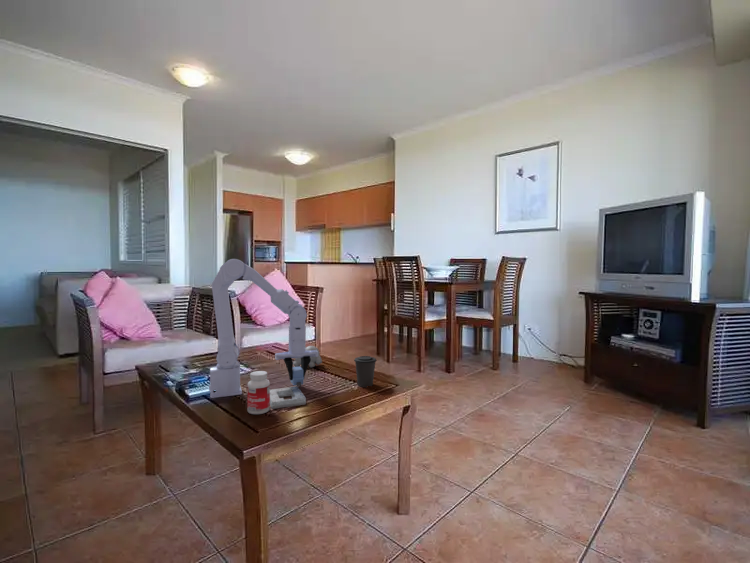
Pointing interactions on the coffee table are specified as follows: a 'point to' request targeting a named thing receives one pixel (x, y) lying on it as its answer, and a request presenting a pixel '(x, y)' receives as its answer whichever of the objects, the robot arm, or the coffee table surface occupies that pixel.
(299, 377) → the block
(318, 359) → the round bodied animal figurine
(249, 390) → the pill bottle
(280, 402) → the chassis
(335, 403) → the coffee table surface
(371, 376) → the coffee cup
